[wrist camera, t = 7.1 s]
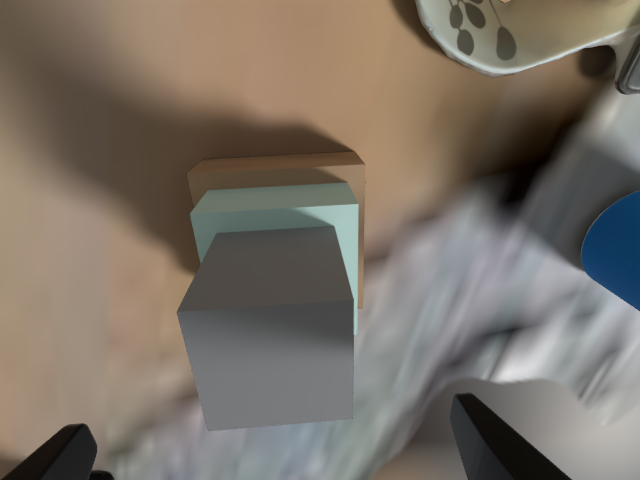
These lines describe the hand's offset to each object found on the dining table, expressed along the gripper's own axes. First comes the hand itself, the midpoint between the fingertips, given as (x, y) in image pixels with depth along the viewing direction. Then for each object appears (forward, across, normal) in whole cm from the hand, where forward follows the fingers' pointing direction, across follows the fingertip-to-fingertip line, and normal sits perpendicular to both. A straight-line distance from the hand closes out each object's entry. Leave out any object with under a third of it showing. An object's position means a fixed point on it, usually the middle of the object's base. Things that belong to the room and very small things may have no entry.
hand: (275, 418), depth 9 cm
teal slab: (+10, 0, 0) cm, 10 cm away
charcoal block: (+7, 0, 0) cm, 7 cm away
